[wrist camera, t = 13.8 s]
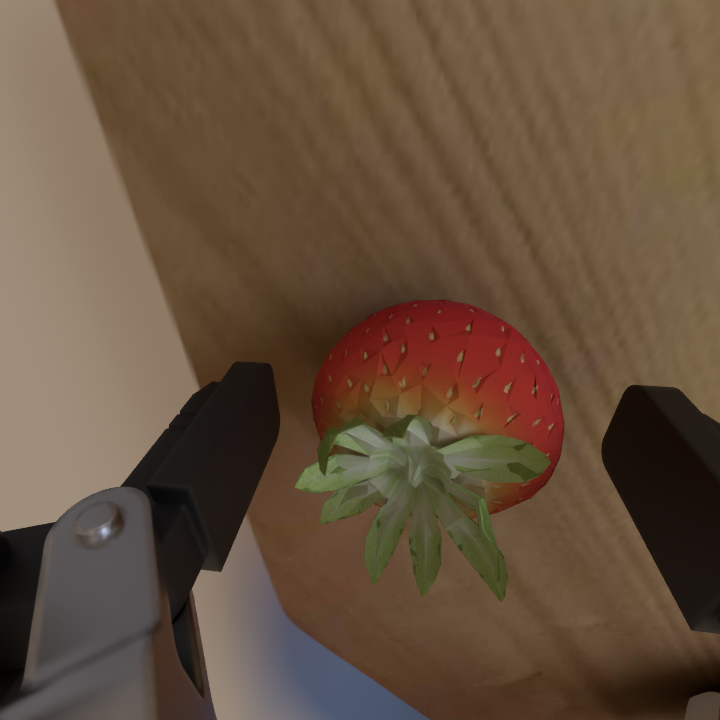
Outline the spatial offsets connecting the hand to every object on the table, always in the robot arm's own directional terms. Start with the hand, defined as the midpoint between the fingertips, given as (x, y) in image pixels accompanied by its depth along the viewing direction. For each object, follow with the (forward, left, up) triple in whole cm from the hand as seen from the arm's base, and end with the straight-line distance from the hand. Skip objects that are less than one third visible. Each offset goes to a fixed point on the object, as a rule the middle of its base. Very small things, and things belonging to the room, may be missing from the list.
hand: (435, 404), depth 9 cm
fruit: (0, 0, -4) cm, 4 cm away
